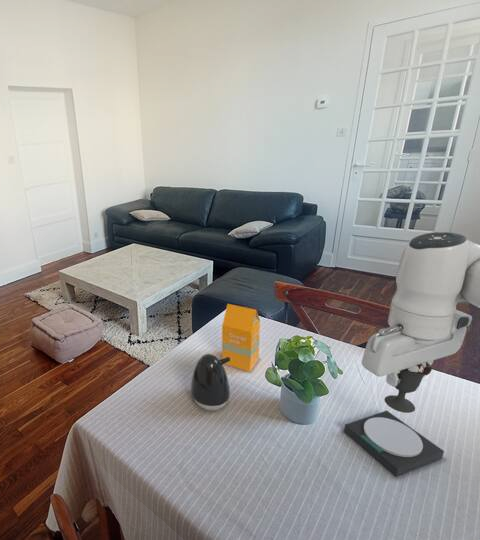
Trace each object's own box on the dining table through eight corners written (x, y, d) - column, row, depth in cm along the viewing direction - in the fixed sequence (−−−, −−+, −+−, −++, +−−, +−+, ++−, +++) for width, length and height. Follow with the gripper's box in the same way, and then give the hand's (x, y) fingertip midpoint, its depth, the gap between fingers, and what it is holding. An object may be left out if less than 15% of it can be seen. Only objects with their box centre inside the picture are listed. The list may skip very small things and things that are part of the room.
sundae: (417, 398, 71) (433, 336, 65) (422, 420, 65) (440, 355, 60) (378, 389, 74) (390, 330, 69) (380, 409, 69) (393, 346, 64)
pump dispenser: (235, 415, 87) (236, 367, 81) (194, 418, 87) (192, 369, 82) (225, 388, 96) (225, 343, 91) (188, 391, 97) (186, 346, 92)
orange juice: (250, 374, 101) (252, 315, 94) (221, 365, 106) (221, 308, 99) (258, 360, 106) (261, 304, 99) (231, 352, 112) (231, 298, 105)
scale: (384, 420, 81) (387, 408, 79) (441, 461, 70) (445, 448, 68) (343, 434, 78) (345, 422, 77) (395, 480, 67) (398, 466, 66)
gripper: (391, 340, 58) (378, 404, 63) (479, 315, 62) (461, 376, 67) (358, 323, 63) (348, 383, 68) (441, 301, 68) (426, 359, 72)
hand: (405, 380), depth 68 cm, fingers closed on sundae, 5 cm apart
